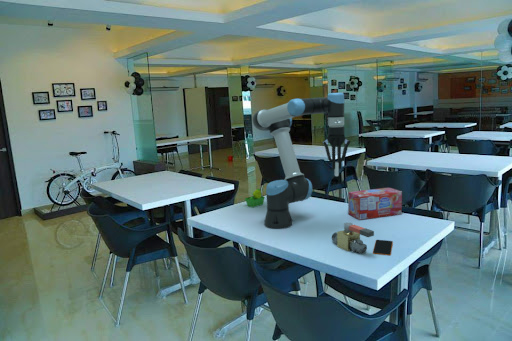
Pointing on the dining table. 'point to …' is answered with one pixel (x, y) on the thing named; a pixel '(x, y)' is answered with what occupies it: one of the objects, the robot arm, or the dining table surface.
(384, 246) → the smartphone
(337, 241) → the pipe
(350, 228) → the lever
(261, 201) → the fruit basket
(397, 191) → the box
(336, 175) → the robot arm
